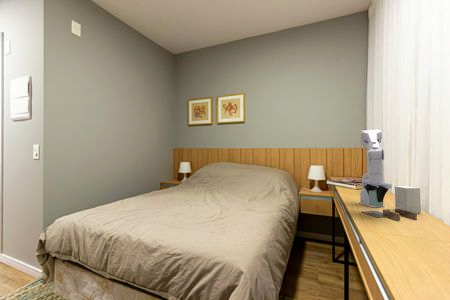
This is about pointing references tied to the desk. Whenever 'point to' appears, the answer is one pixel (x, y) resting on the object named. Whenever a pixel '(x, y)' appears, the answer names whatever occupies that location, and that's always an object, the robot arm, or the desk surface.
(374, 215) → the mat
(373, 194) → the block
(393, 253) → the desk surface
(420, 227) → the desk surface
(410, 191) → the supplement box
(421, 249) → the desk surface
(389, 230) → the desk surface
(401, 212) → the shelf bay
